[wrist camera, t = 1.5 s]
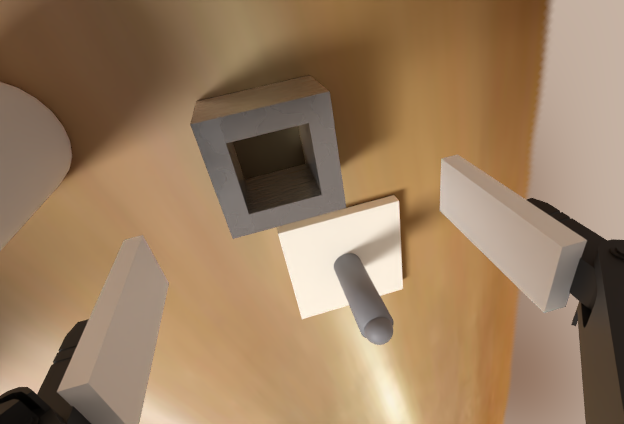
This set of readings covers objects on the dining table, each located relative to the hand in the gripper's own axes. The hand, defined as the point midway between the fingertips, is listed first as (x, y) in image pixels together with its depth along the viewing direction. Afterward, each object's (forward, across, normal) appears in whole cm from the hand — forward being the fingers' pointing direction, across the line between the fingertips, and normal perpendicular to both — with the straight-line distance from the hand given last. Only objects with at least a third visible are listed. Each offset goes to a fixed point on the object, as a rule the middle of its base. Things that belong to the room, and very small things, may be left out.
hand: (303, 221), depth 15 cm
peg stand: (+11, +4, -12) cm, 17 cm away
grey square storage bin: (+11, 0, 0) cm, 11 cm away
